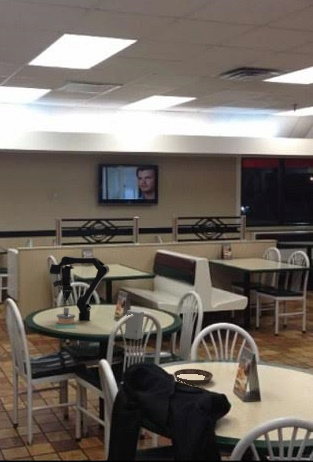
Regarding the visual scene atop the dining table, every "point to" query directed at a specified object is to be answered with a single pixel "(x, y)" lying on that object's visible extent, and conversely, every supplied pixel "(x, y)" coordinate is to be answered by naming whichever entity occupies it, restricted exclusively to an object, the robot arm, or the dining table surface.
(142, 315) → the skincare box
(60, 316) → the lid
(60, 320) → the bowl
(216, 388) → the dining table surface
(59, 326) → the mat
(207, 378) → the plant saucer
